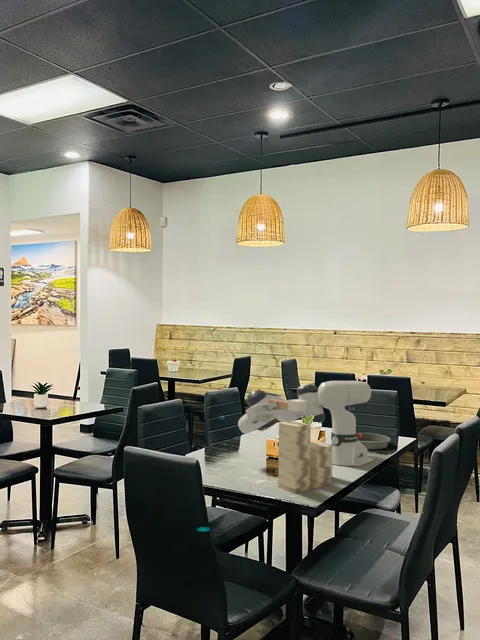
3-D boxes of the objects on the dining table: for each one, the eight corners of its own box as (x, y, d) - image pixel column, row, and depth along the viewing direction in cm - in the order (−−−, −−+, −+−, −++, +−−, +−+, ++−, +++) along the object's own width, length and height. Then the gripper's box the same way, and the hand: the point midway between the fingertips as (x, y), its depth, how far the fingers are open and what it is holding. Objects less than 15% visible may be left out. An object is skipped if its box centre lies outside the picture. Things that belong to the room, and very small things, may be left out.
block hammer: (274, 404, 254) (274, 395, 254) (306, 410, 239) (306, 400, 239) (266, 405, 251) (266, 396, 251) (298, 411, 236) (298, 401, 236)
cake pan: (382, 452, 293) (382, 443, 293) (337, 446, 306) (337, 438, 306) (396, 444, 314) (396, 435, 314) (353, 438, 327) (353, 430, 327)
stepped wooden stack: (313, 478, 241) (314, 418, 241) (330, 484, 233) (331, 421, 233) (278, 486, 229) (279, 422, 229) (294, 493, 221) (295, 426, 221)
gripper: (281, 418, 263) (299, 407, 253) (247, 423, 250) (265, 411, 240) (276, 406, 265) (294, 394, 256) (242, 410, 252) (260, 397, 243)
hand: (280, 402), depth 248 cm, fingers closed on block hammer, 2 cm apart
